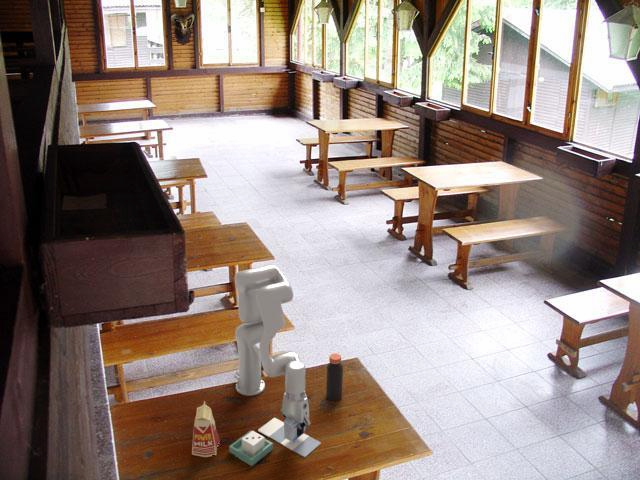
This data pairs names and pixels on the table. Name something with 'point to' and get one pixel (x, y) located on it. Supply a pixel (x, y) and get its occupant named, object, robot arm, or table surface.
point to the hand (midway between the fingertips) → (295, 431)
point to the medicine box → (291, 429)
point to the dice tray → (237, 451)
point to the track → (300, 445)
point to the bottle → (334, 378)
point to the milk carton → (204, 433)
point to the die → (252, 443)
